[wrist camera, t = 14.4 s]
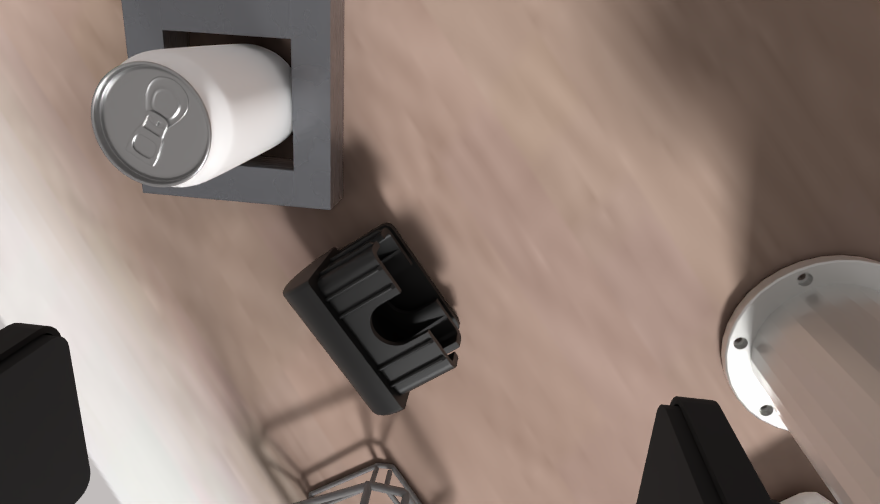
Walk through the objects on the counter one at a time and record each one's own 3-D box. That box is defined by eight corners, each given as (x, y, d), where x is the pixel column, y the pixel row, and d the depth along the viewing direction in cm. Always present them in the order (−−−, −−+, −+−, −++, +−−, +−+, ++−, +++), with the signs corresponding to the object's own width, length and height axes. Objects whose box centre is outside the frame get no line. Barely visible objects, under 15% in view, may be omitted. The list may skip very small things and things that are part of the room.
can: (322, 82, 38) (244, 106, 27) (275, 167, 40) (185, 222, 29) (231, 21, 37) (111, 19, 26) (189, 111, 39) (61, 145, 28)
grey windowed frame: (345, -204, 33) (330, -225, 30) (342, 197, 40) (330, 209, 38) (130, -212, 33) (95, -234, 31) (167, 181, 41) (143, 192, 38)
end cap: (302, 264, 42) (266, 306, 36) (385, 213, 41) (362, 247, 34) (384, 374, 45) (364, 431, 38) (466, 330, 43) (459, 383, 37)
